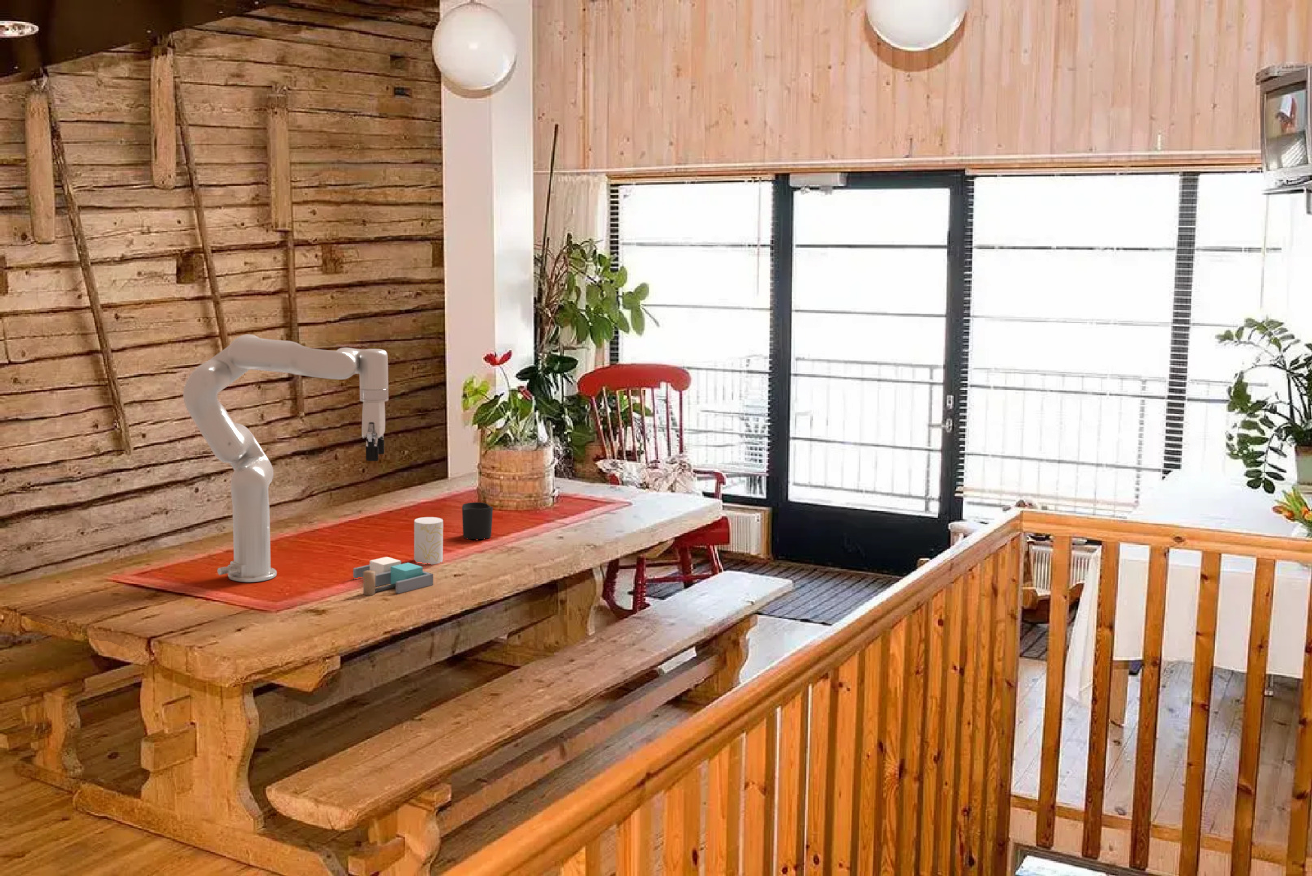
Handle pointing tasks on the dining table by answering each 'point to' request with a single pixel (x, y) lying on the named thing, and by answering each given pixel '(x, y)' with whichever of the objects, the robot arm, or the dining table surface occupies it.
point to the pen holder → (477, 520)
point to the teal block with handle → (397, 574)
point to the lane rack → (400, 585)
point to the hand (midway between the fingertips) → (375, 457)
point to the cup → (428, 540)
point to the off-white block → (383, 564)
